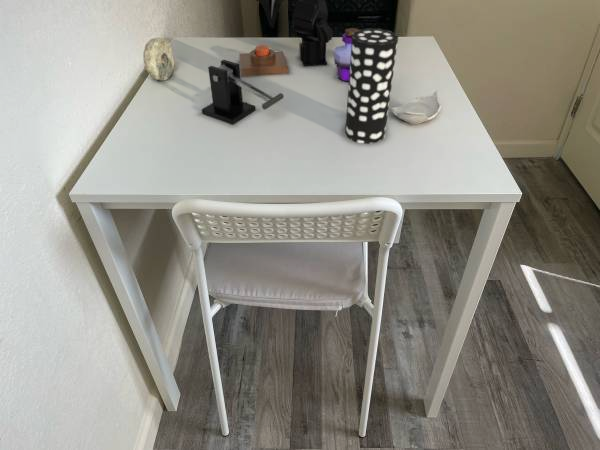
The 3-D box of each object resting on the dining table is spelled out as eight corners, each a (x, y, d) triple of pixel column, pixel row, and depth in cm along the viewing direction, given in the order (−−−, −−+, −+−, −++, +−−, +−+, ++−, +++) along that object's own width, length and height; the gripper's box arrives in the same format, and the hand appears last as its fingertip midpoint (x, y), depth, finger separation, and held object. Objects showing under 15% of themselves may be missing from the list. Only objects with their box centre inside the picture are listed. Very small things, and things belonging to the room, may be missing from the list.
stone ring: (158, 87, 113) (149, 47, 107) (146, 85, 114) (136, 45, 108) (180, 71, 120) (172, 32, 114) (168, 70, 121) (160, 31, 115)
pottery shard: (429, 107, 105) (434, 87, 101) (449, 132, 97) (454, 110, 93) (386, 110, 104) (389, 90, 100) (402, 136, 95) (406, 114, 92)
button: (268, 51, 122) (268, 44, 120) (270, 56, 119) (269, 49, 118) (255, 52, 121) (254, 45, 120) (256, 57, 118) (255, 50, 117)
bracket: (255, 110, 104) (252, 63, 97) (232, 124, 99) (227, 77, 92) (225, 100, 108) (220, 55, 101) (202, 114, 103) (194, 67, 96)
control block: (283, 59, 127) (282, 44, 124) (288, 73, 119) (287, 58, 117) (240, 61, 125) (238, 47, 123) (242, 76, 118) (240, 61, 115)
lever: (282, 102, 97) (284, 92, 95) (265, 113, 93) (267, 103, 91) (228, 71, 101) (229, 61, 99) (209, 80, 97) (210, 70, 95)
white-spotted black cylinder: (388, 127, 98) (401, 31, 85) (380, 146, 92) (393, 46, 79) (350, 121, 100) (358, 26, 87) (340, 139, 94) (347, 41, 81)
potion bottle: (352, 88, 113) (356, 38, 105) (324, 78, 117) (326, 30, 109) (371, 76, 118) (376, 28, 110) (344, 68, 122) (347, 21, 114)
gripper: (226, -39, 91) (233, 41, 101) (318, -43, 93) (316, 36, 103) (224, -51, 99) (231, 24, 109) (309, -54, 101) (308, 20, 111)
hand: (271, 26), depth 108 cm, fingers closed
